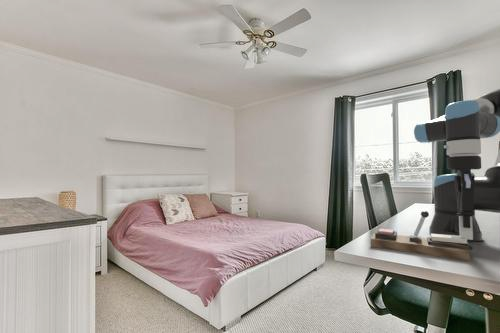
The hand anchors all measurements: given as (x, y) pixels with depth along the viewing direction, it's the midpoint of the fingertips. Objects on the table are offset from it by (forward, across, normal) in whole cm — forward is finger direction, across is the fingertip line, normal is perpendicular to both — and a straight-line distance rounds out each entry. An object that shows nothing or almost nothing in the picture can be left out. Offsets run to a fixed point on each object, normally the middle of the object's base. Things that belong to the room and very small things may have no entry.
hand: (466, 238), depth 71 cm
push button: (+2, 0, -20) cm, 20 cm away
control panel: (+5, 0, -12) cm, 13 cm away
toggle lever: (+1, 0, -12) cm, 12 cm away
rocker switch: (+1, 0, -4) cm, 4 cm away
